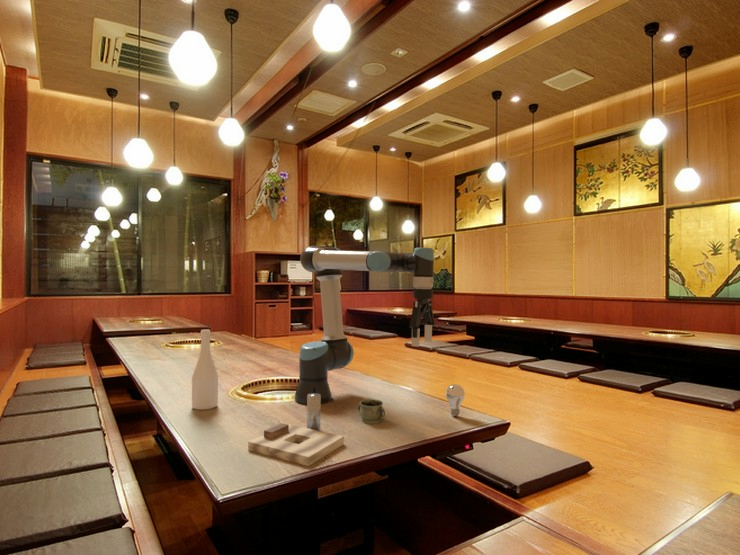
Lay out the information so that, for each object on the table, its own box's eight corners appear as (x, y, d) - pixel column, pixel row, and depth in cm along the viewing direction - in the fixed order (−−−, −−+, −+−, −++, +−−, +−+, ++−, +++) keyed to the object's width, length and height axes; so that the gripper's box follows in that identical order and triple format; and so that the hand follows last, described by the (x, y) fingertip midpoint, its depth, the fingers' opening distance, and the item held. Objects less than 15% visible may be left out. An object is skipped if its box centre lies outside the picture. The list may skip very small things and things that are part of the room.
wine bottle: (187, 406, 173) (188, 329, 173) (210, 401, 180) (211, 327, 180) (198, 412, 167) (199, 332, 167) (222, 406, 174) (223, 330, 174)
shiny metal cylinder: (304, 431, 148) (304, 395, 148) (312, 427, 152) (312, 392, 151) (315, 434, 146) (315, 397, 145) (322, 430, 149) (323, 394, 149)
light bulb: (453, 420, 161) (453, 387, 161) (441, 415, 167) (442, 383, 167) (468, 417, 164) (468, 385, 164) (456, 412, 170) (456, 381, 170)
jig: (248, 450, 132) (248, 434, 132) (287, 431, 148) (287, 418, 148) (308, 466, 121) (308, 449, 121) (343, 444, 137) (343, 429, 137)
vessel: (350, 419, 161) (350, 402, 161) (365, 413, 168) (365, 396, 168) (377, 426, 154) (378, 408, 154) (391, 420, 161) (392, 402, 161)
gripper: (420, 289, 157) (419, 349, 157) (442, 287, 179) (441, 340, 179) (401, 288, 160) (399, 347, 161) (425, 287, 183) (424, 338, 183)
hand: (421, 343), depth 170 cm, fingers open, 13 cm apart
